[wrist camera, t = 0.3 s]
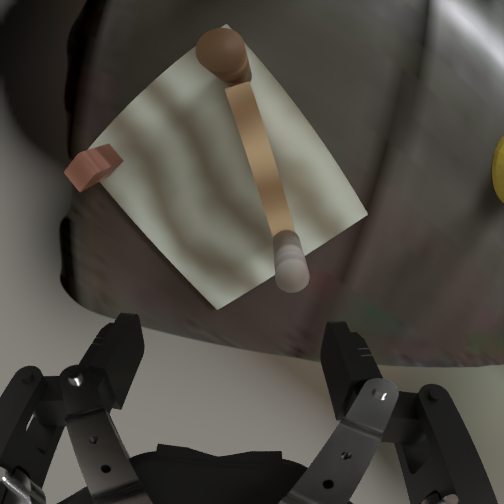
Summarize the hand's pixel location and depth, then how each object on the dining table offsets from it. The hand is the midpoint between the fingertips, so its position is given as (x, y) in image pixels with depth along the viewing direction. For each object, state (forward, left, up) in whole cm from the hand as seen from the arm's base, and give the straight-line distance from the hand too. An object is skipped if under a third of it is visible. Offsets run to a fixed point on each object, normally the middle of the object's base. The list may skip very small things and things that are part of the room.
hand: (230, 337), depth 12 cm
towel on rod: (+2, -3, -25) cm, 25 cm away
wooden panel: (-3, -1, -24) cm, 24 cm away
